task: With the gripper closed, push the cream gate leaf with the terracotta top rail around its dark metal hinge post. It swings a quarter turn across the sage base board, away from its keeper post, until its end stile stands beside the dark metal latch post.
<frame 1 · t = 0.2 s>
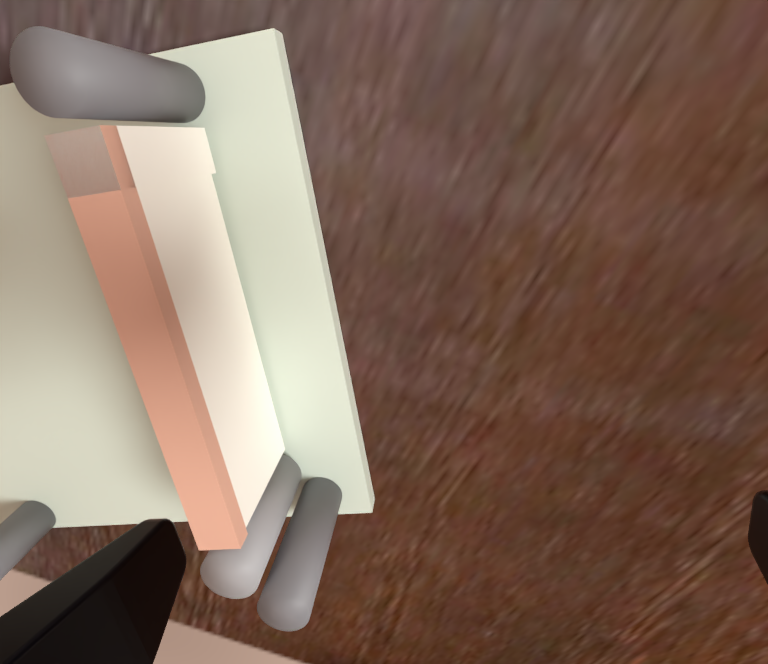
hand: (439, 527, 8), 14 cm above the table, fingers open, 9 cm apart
gate leaf: (210, 366, 18), point 4 cm above the table, hinge at 0.0°
gate base: (287, 455, 25), on the table
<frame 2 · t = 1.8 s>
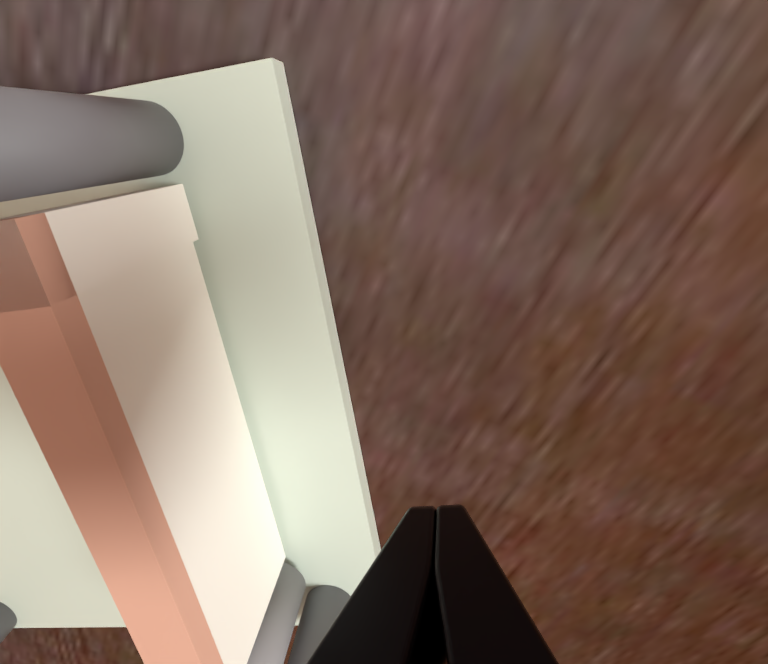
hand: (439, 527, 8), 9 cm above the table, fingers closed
gate leaf: (191, 488, 14), point 4 cm above the table, hinge at 0.0°
gate base: (288, 553, 21), on the table
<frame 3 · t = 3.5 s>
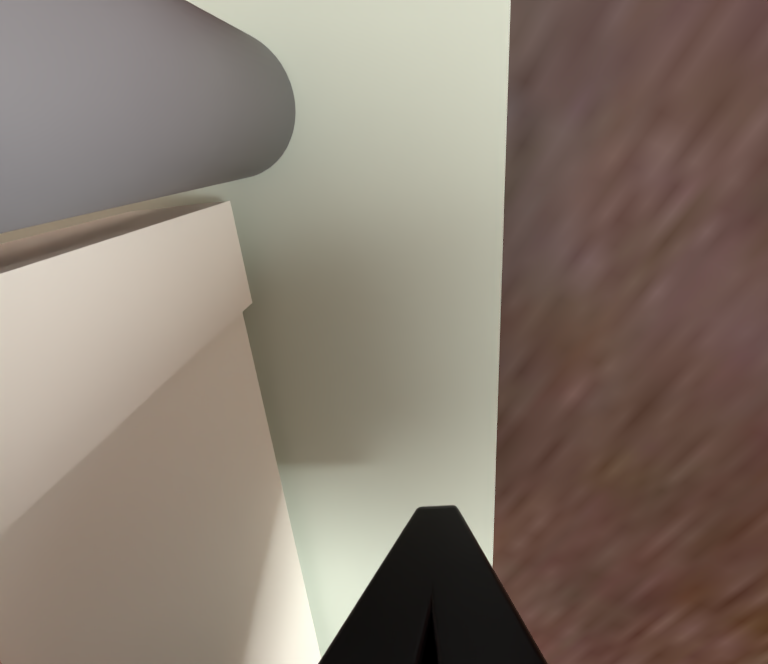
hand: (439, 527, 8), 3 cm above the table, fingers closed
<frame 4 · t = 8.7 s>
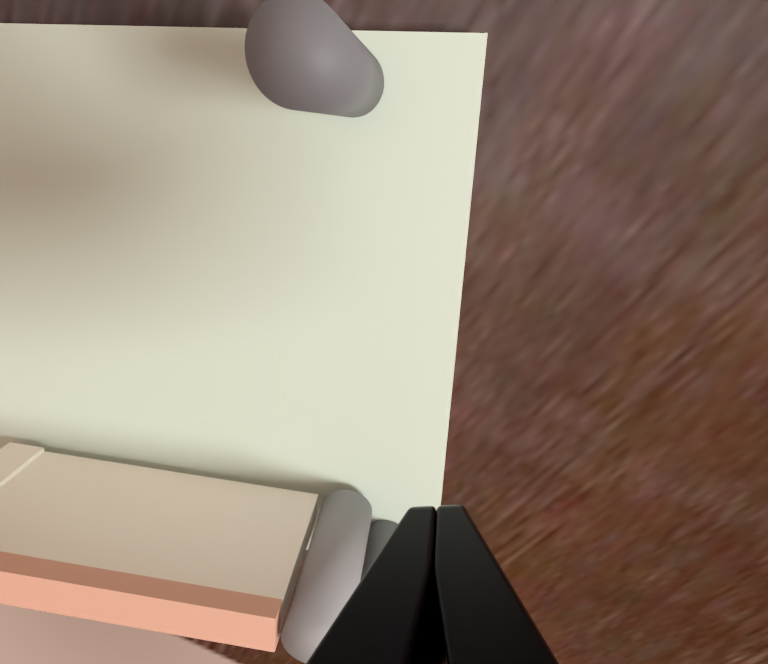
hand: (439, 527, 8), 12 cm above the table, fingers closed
gate leaf: (152, 536, 19), point 4 cm above the table, hinge at 86.1°
gate base: (352, 488, 23), on the table
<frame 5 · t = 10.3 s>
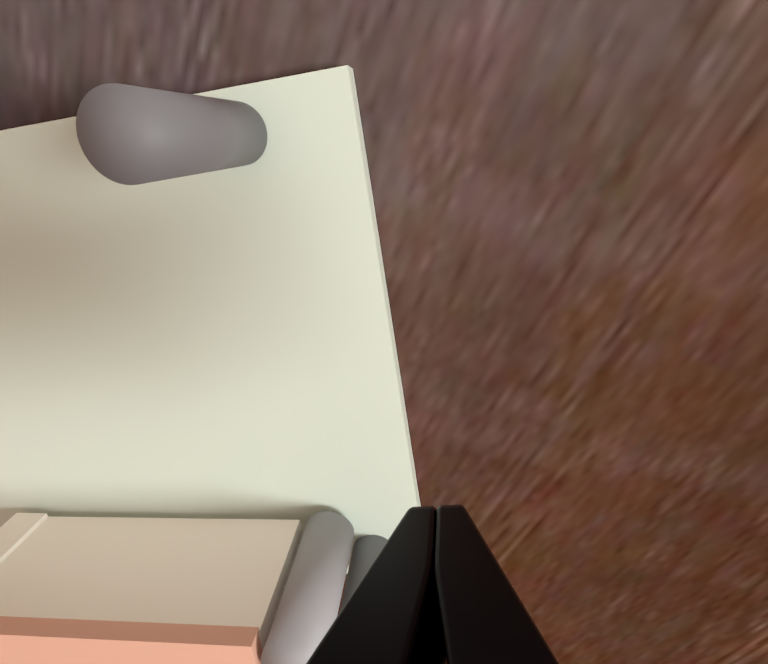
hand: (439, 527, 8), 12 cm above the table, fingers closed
gate leaf: (145, 582, 20), point 4 cm above the table, hinge at 86.1°
gate base: (336, 508, 23), on the table
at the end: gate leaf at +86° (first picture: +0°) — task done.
